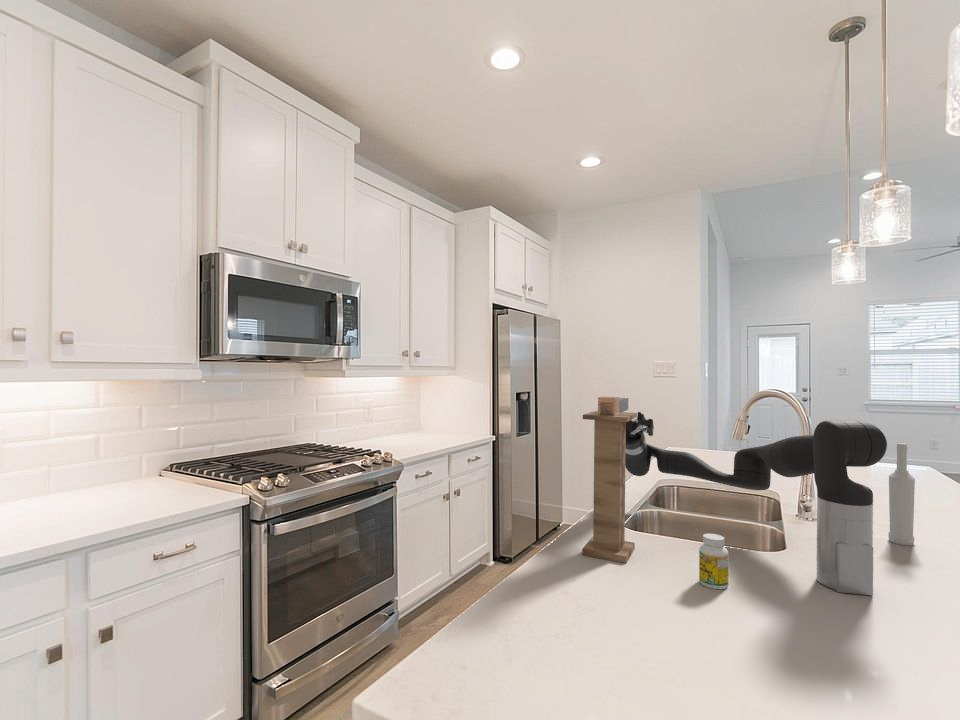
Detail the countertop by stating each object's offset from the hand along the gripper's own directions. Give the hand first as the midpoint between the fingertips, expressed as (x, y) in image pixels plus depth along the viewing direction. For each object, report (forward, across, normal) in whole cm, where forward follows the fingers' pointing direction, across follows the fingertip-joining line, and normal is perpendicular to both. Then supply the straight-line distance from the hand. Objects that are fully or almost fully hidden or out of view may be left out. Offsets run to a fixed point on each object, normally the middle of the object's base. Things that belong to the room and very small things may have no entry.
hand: (622, 413), depth 134 cm
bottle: (-38, -65, -13) cm, 77 cm away
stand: (-2, -1, -35) cm, 35 cm away
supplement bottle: (+5, -24, -39) cm, 46 cm away
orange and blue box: (+11, 0, -5) cm, 12 cm away
